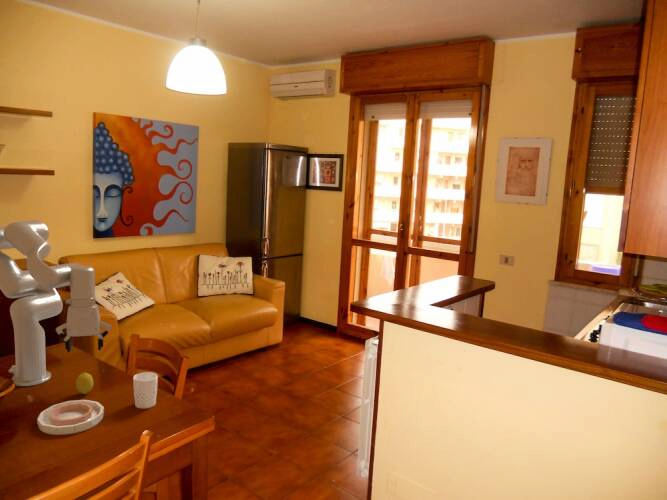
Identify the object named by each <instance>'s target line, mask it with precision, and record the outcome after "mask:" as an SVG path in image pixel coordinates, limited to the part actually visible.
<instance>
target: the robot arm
mask: <svg viewBox="0 0 667 500" xmlns="http://www.w3.org/2000/svg"><path fill="white" fill-rule="evenodd" d="M49 237H50V230H49V228H48V226H47V224H46V223H44V222H42V221H40V220H24V221H23V220H22V221H21V220H20V221H14V222H10V223H9V224H7V225H6V226H0V291H1V292H2V293H3V296H5V297H6V298H8V299H16V300H15V301H13V302H12V303H11V305H10V307H9V313H10V317H11V321H12V326H13V332H14V333H13V335H14V350H15V351H14V356H15V365H11V367H10V369H8V373H10V374H13V376H12V377H11V379H12V380H13V381H14V383H15V384H16V385H15V386H17V387H30V386H32V387H33V386H37V385H40V384H44V383H45V382H48V381H49V380H50V379H51V377H52V374H51V372H50V371H47V366H46V365H47V364H46V363H47V359H46V335H45V334H46V332H45V330H44V328H43V327H42V325H40V321H42V320H46V319H49V318H52V317H55V316H58V315H60V314H61V313H62V311H63V306H64V305H63V300H62V297H61V296H60V294H59V292H58V290H57V288H62V287H68V286H70V297H69V298H68V299H66V300H65V304H69V306H68V309H67V312H66V313H67V315H66V316H67V317H66V323H63V324H61V325H60V326H57V327H56V328H55V332H56V333H57V334H58V336H59V338H61V339H62V340H63V341H64V343H65V345H64V346H65V350H67V353H70V352H71V351H72V339H71V338H72V337H86V336H88V337H89V336H90V337H91V336H96V337H98V338H97V350H98V351H101V350H102V348H104V338H105V337H106V336H107V335H108V334H109V332H110V330H111V329H112V325H111V324H110V323H107V322H104V321H102V320H101V315H100V310H99V306H98V304H96V278H95V277H96V276H95V275H96V274H95V269H94V267H93V266H90V265H82V264H79V263H75V262H69V263H64V264H57V265H51V266H49V265H48V264H46V263H45V262H44V261H43V260H45V259H46V258H47V257H48V255H49V254H50V253H51V250H52V249H51V248H52V247H51V244H50V242H49V241H47V240H48V239H49ZM10 249H16V250H17V251H18V252H19V253H20V254H22V255H23V256H24V257H25V258H26V267H27V269H26V270H22V269H21V268H20V267H19V266H18V264H17V262H16V261H15V260H14V259H13V258H12V257H11V256H9V255H8V254H7V253H5V252H3V251H2V250H10ZM17 298H18V299H17ZM101 327H102V328H105V330H103V332H102V330H101ZM64 329H66V333H65V332H63V330H64Z"/></svg>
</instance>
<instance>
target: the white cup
mask: <svg viewBox="0 0 667 500" xmlns="http://www.w3.org/2000/svg"><path fill="white" fill-rule="evenodd" d="M158 377H159V375H158V374H157V373H156V372H154V371H153V372H152V371H151V372H150V371H146V372H145V371H144V372H140V373H136V374H135V375H134V376H133V377H132V380H133V381H132V382H133V396H134V406H135V408H137V409H150V408H152V407H155V406H156V404H157V395H158V394H157V393H158V382H159V380H158Z"/></svg>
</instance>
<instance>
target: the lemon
mask: <svg viewBox="0 0 667 500" xmlns="http://www.w3.org/2000/svg"><path fill="white" fill-rule="evenodd" d="M93 387H94V379H93V376H92V374H90V373H87V372H82V373H80V374H79V375H78V376H77V378H76V381H75V389H76V390H77V392H78V393H79V394H80V393H81V394H83V395H86V394H87V393H89V392H90V391H92V389H93Z"/></svg>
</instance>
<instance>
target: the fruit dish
mask: <svg viewBox="0 0 667 500" xmlns="http://www.w3.org/2000/svg"><path fill="white" fill-rule="evenodd" d="M104 411H105V406H103V405H102V404H101V403H100V402H98V401H94V400H88V399H79V400H77V399H76V400H67V401H63V402H61V403H57V404H53V405H51V406H49V407H47V408H46V409H44V410H42V411H41V412H40V414H39V415H38V417H37V421H36V423H37V425H38V429H39V430H40V431H41V432H42V433H44V434H48V435H52V436H53V435H55V436H65V435H66V436H67V435H74V434H77V433H81V432H85V431H87V430H89V429H91V428H94V427H95V426H97V425H98V424H99V423H101V421H102V420H103V418H104V413H105V412H104Z"/></svg>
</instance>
